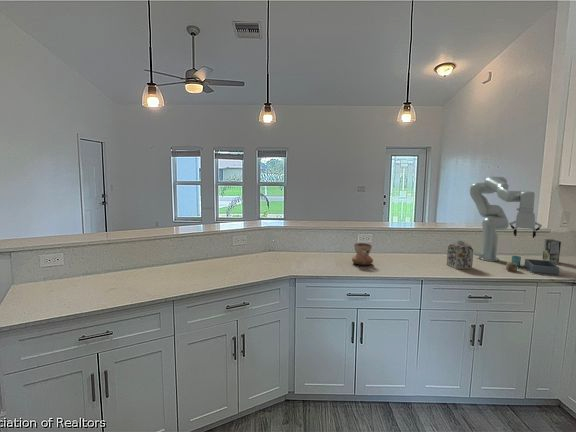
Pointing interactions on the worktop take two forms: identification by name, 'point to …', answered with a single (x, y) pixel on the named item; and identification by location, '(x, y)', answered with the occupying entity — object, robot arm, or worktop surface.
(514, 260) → the teal cylinder
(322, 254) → the worktop surface
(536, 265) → the tote
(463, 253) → the decorative jar
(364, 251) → the ceramic jug
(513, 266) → the walnut cube
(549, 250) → the coffee box
